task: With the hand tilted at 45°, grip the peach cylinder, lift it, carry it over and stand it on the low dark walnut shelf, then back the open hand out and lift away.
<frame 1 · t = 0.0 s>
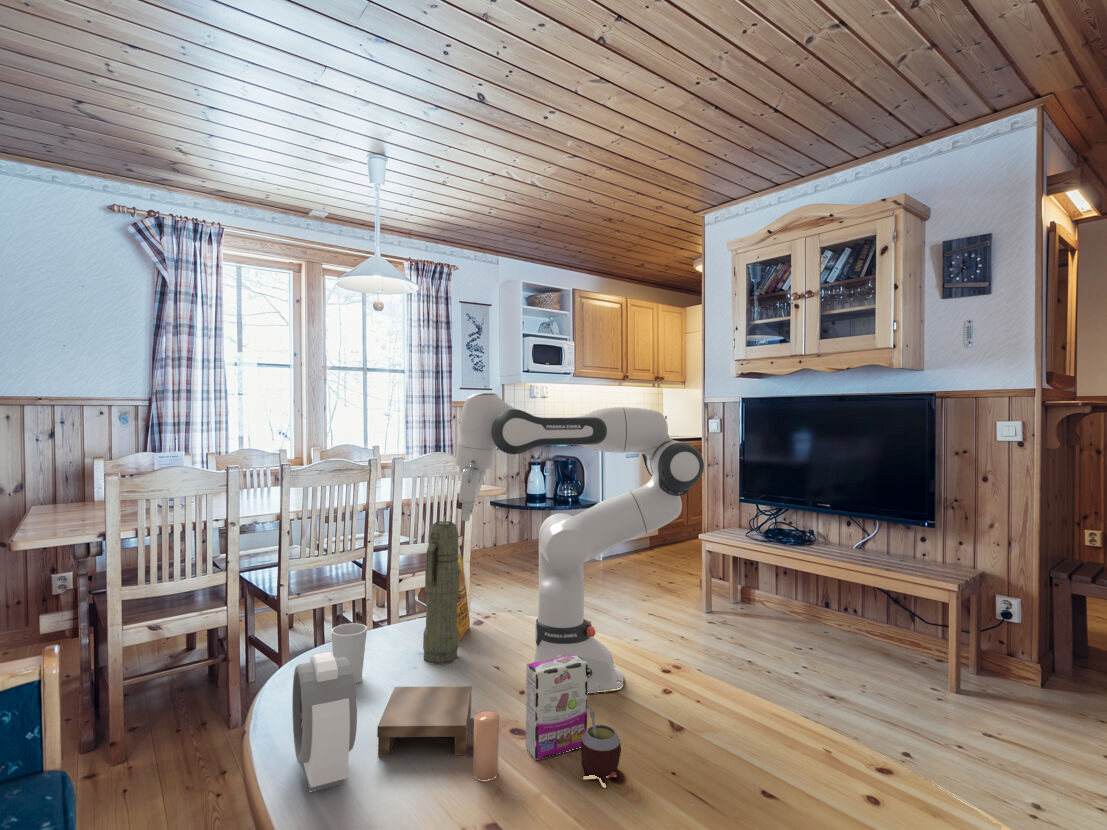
hand: (466, 517, 144), 39 cm above the table, tool pointing down, fingers open, 8 cm apart
thermos: (440, 658, 156), on the table
candy bar box: (555, 749, 115), on the table
pancake mix bag: (454, 634, 173), on the table
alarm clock: (321, 772, 106), on the table
cup: (348, 680, 142), on the table
mate gourd: (599, 780, 105), on the table
walnut shelf: (427, 735, 118), on the table
peach cylinder: (485, 774, 106), on the table
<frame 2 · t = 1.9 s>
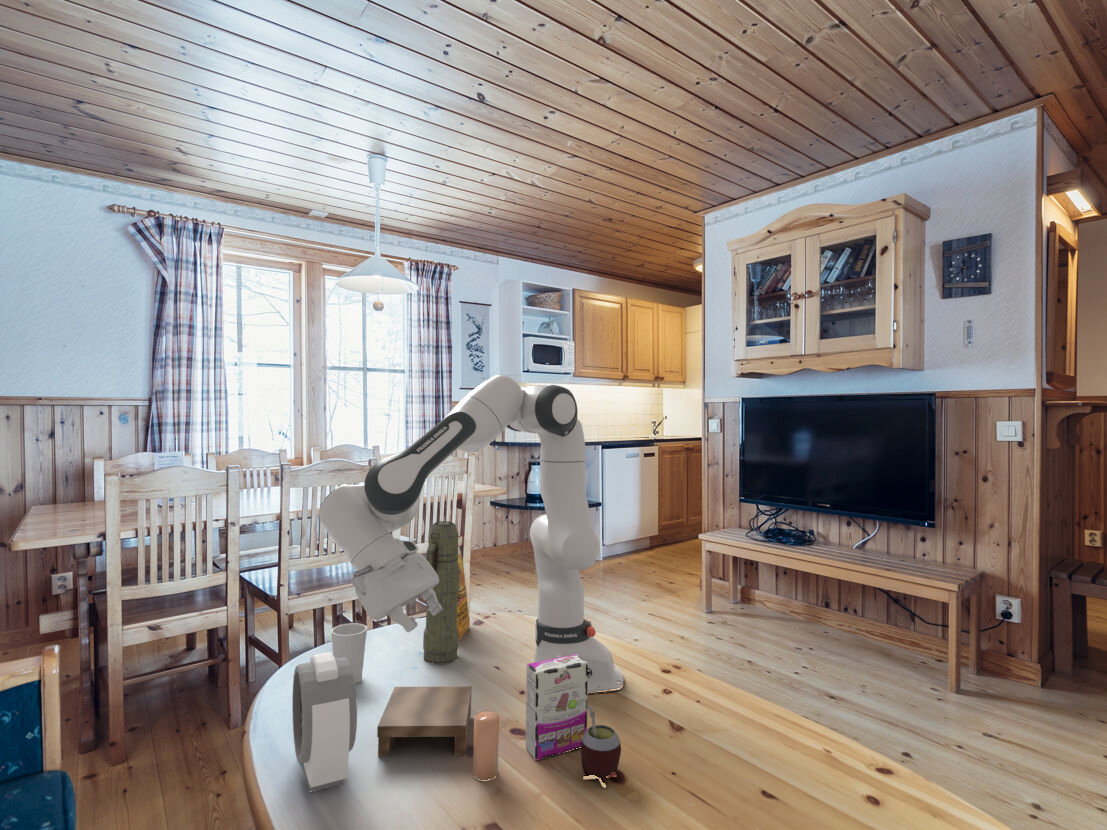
hand: (426, 620, 109), 26 cm above the table, tool tilted 45°, fingers open, 8 cm apart
nothing on the table moved.
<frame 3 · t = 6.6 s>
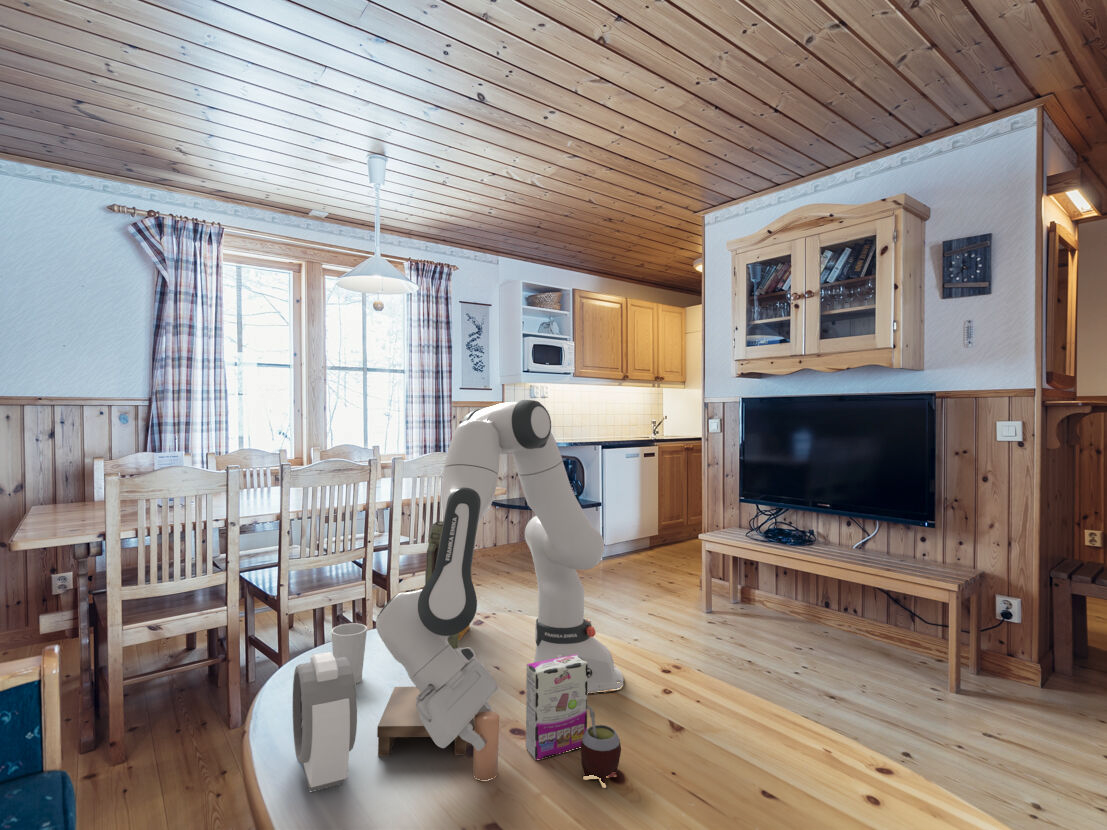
hand: (489, 738, 106), 6 cm above the table, tool tilted 45°, fingers closed on peach cylinder, 4 cm apart
peach cylinder: (485, 773, 106), on the table, touching gripper
everything else where it was.
when the fingers open (14 cm above the table, at t = 11.1 s): peach cylinder drops 1 cm, resting on walnut shelf.
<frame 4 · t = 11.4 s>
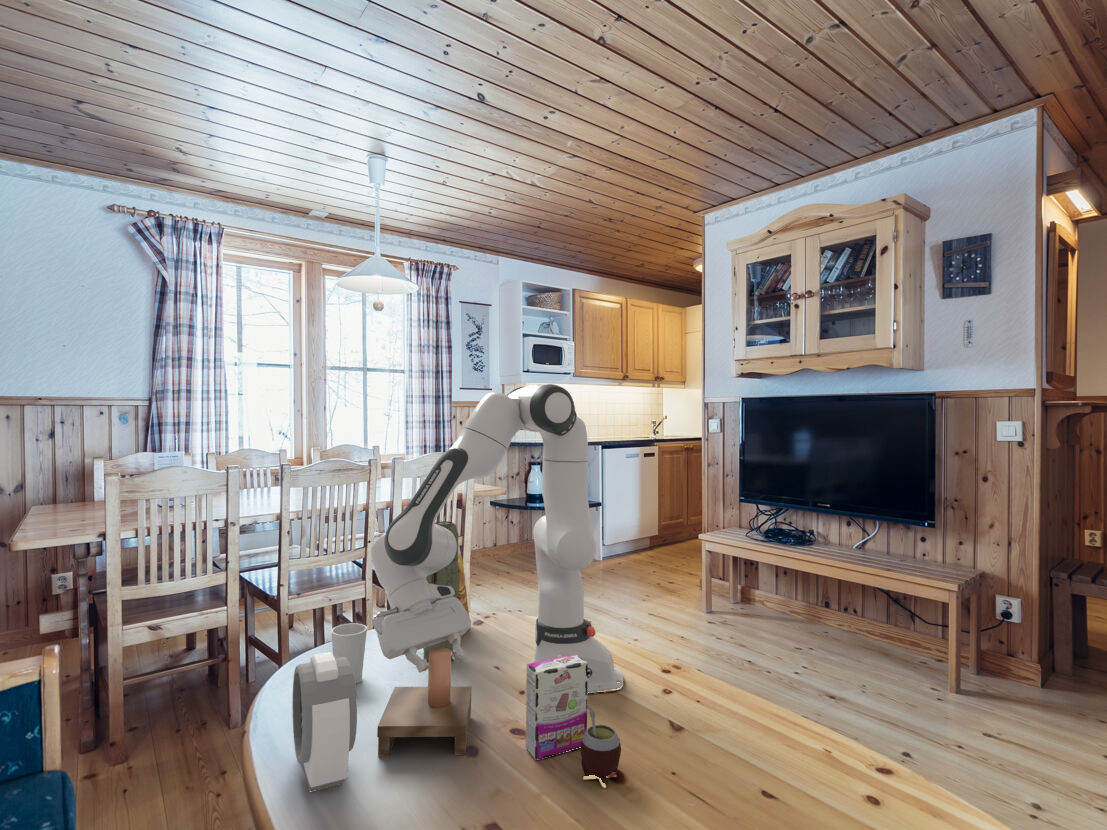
hand: (442, 663, 119), 14 cm above the table, tool tilted 45°, fingers open, 7 cm apart
peach cylinder: (439, 702, 119), point 6 cm above the table, touching walnut shelf
everything else where it was.
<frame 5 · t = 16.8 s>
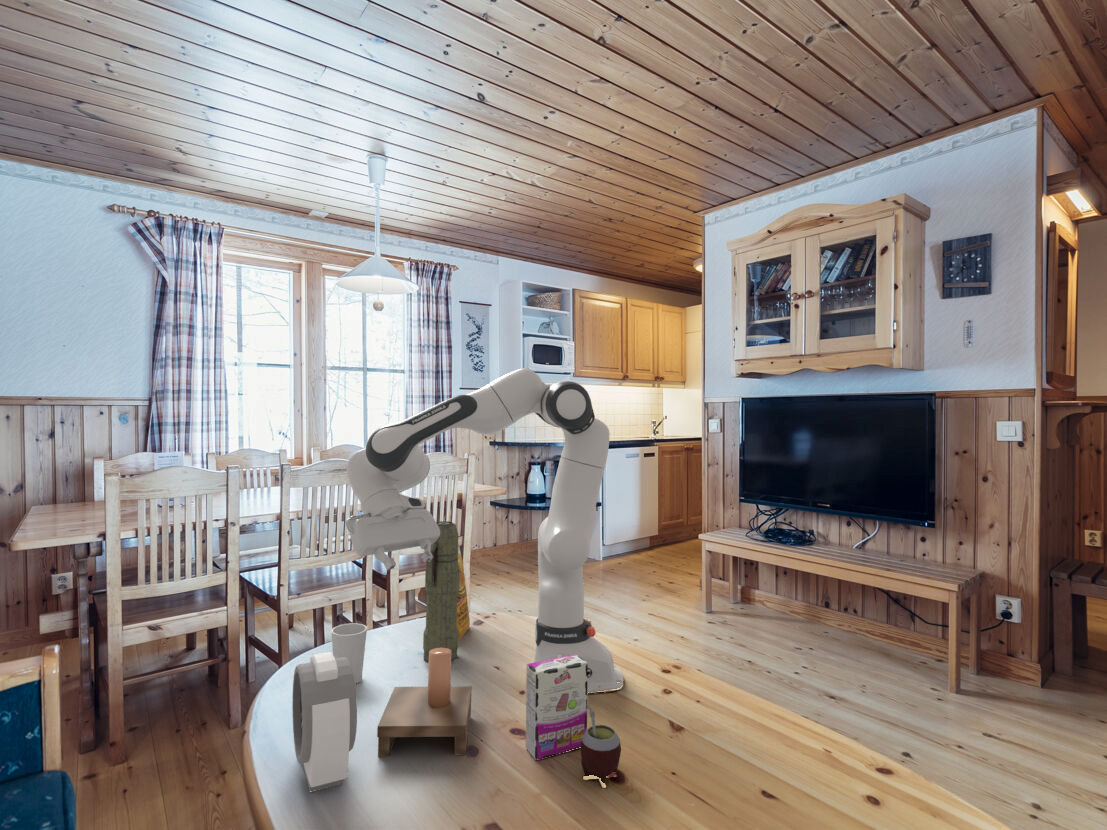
hand: (410, 563, 127), 31 cm above the table, tool tilted 45°, fingers open, 8 cm apart
nothing on the table moved.
at the end: peach cylinder inside the target area on the walnut shelf (2.3 cm from its centre), point 6.0 cm above the walnut shelf's base; peach cylinder tilted 0°; the gripper is holding nothing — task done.
